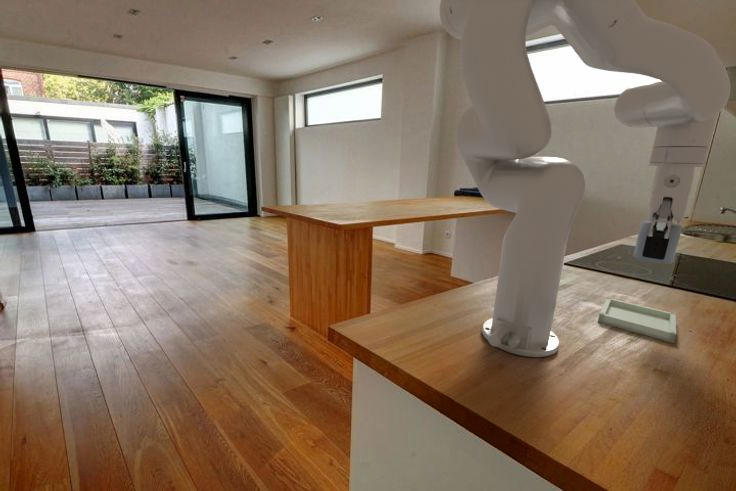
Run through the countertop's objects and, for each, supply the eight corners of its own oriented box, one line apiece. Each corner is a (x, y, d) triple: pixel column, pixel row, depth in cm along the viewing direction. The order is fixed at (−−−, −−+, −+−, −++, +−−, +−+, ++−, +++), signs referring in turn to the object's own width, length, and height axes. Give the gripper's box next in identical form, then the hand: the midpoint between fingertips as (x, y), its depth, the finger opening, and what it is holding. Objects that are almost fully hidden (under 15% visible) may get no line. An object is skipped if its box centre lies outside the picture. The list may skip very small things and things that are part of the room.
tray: (673, 343, 61) (676, 334, 60) (597, 322, 68) (599, 313, 68) (673, 321, 69) (675, 313, 69) (605, 304, 77) (607, 297, 76)
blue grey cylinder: (673, 265, 61) (683, 228, 60) (632, 259, 65) (640, 223, 63) (673, 259, 66) (682, 223, 64) (634, 253, 69) (642, 219, 68)
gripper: (710, 158, 52) (680, 269, 56) (702, 159, 65) (678, 249, 69) (648, 157, 57) (625, 259, 61) (652, 158, 69) (632, 243, 74)
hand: (653, 253), depth 65 cm, fingers closed on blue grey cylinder, 6 cm apart
